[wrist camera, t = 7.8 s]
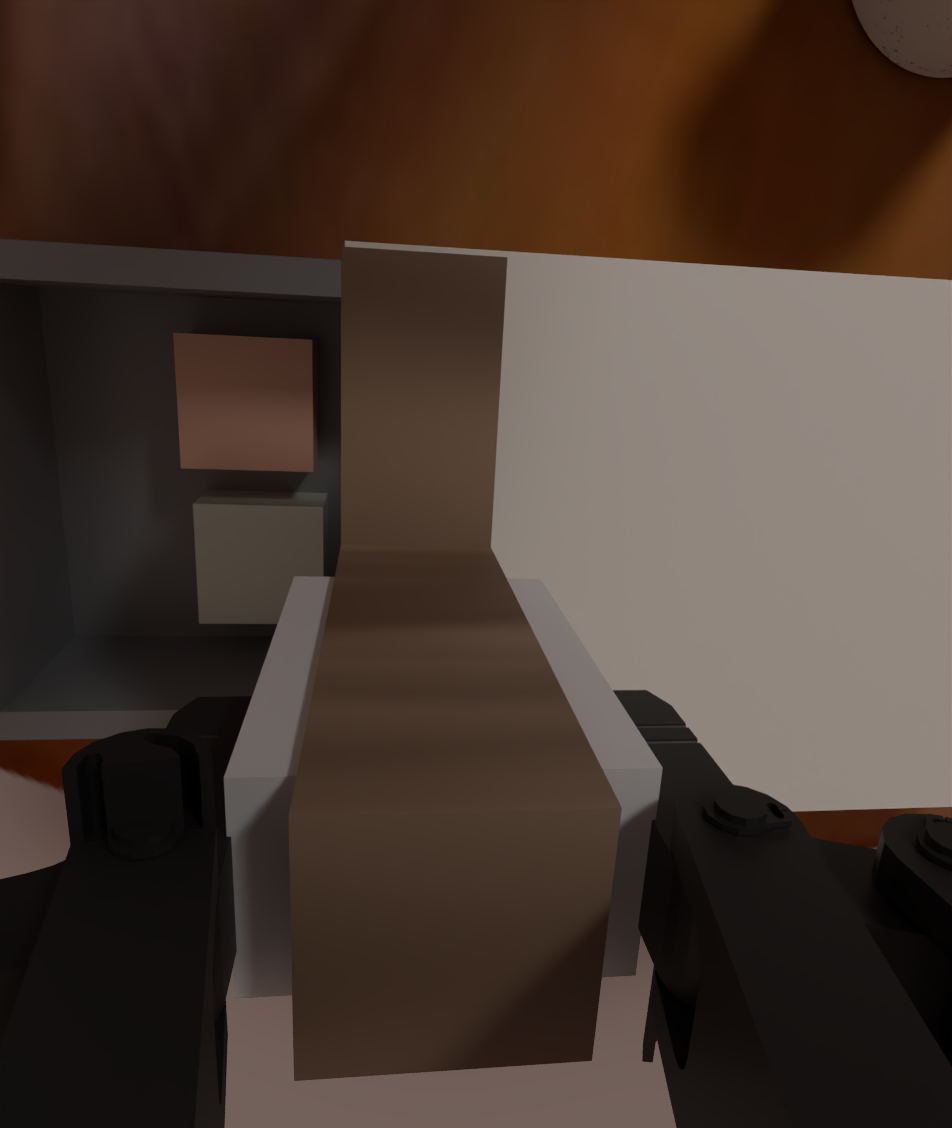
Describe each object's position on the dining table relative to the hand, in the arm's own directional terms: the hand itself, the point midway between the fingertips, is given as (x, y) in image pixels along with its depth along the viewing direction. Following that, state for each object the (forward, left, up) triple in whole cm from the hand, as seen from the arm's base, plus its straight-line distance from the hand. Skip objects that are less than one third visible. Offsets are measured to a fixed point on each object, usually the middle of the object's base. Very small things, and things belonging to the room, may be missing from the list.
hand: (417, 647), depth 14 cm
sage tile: (+3, -5, -14) cm, 15 cm away
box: (0, -6, -17) cm, 18 cm away
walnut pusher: (0, 0, -5) cm, 5 cm away
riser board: (0, +7, -17) cm, 19 cm away
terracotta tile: (-3, -5, -14) cm, 15 cm away
